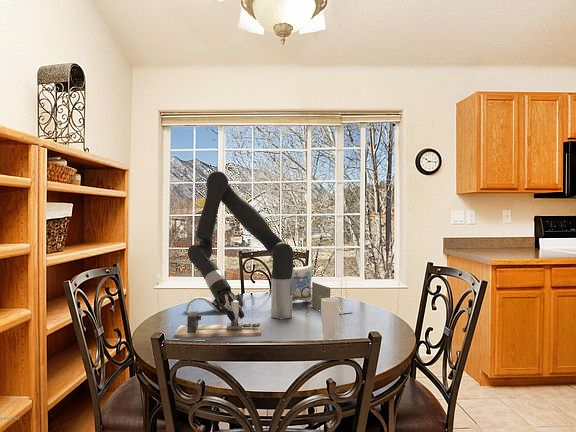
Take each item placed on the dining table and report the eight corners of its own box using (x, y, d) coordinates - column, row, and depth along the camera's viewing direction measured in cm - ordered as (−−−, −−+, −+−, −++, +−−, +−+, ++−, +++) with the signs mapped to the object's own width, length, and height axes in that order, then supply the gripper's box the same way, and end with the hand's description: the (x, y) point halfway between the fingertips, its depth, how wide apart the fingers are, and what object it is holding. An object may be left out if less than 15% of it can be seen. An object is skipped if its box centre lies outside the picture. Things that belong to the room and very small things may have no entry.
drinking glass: (327, 336, 147) (327, 296, 147) (342, 340, 143) (343, 299, 143) (317, 340, 142) (317, 299, 142) (332, 345, 138) (333, 302, 138)
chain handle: (260, 325, 157) (260, 299, 157) (260, 328, 152) (260, 302, 152) (227, 325, 156) (227, 300, 155) (226, 329, 151) (226, 303, 150)
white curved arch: (235, 307, 194) (235, 293, 194) (237, 313, 182) (237, 297, 182) (185, 309, 188) (185, 295, 188) (185, 316, 177) (185, 300, 177)
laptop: (353, 314, 183) (353, 286, 183) (329, 316, 178) (329, 288, 178) (333, 305, 199) (333, 280, 199) (311, 308, 194) (311, 281, 194)
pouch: (276, 303, 203) (277, 264, 203) (309, 300, 210) (310, 262, 210) (282, 306, 195) (283, 266, 195) (316, 303, 203) (317, 264, 203)
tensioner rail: (259, 326, 160) (260, 309, 160) (260, 335, 148) (260, 316, 148) (179, 328, 157) (180, 310, 157) (174, 337, 145) (174, 318, 145)
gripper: (208, 280, 152) (229, 316, 145) (234, 276, 163) (256, 309, 156) (199, 292, 156) (219, 328, 148) (226, 287, 167) (246, 320, 159)
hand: (238, 318), depth 152 cm, fingers open, 4 cm apart
